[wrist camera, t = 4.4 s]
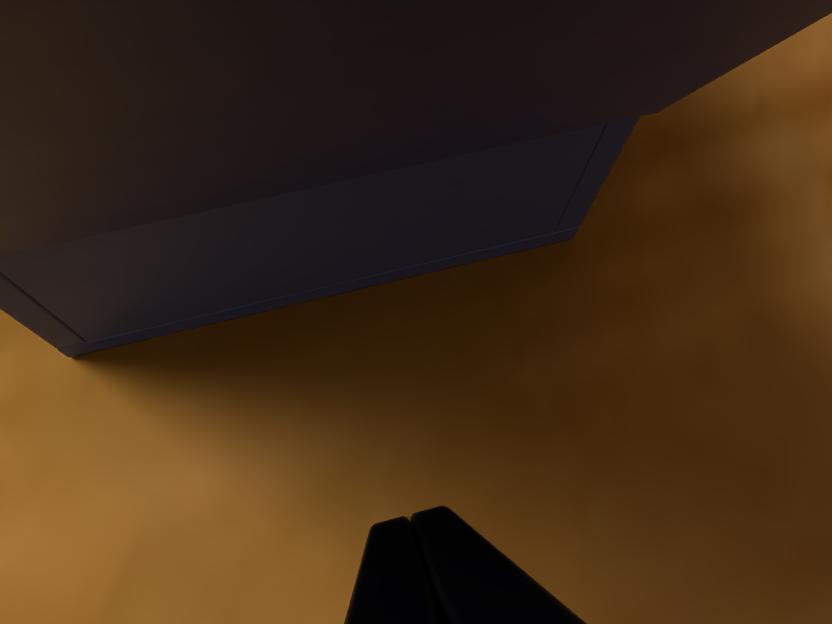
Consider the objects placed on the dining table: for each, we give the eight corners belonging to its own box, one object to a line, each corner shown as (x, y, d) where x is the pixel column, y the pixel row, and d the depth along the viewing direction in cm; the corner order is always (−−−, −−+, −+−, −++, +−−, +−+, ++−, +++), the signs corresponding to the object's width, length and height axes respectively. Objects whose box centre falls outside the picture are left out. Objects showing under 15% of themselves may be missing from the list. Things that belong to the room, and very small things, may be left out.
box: (26, 42, 24) (-102, -151, 18) (472, -42, 26) (500, -245, 20) (68, 358, 21) (-71, 261, 15) (573, 238, 23) (647, 106, 16)
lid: (-1592, -43, 3) (-1531, 157, 3) (1429, -469, 5) (1450, -336, 5) (-90, 231, 14) (-79, 273, 14) (650, 74, 16) (658, 112, 16)
